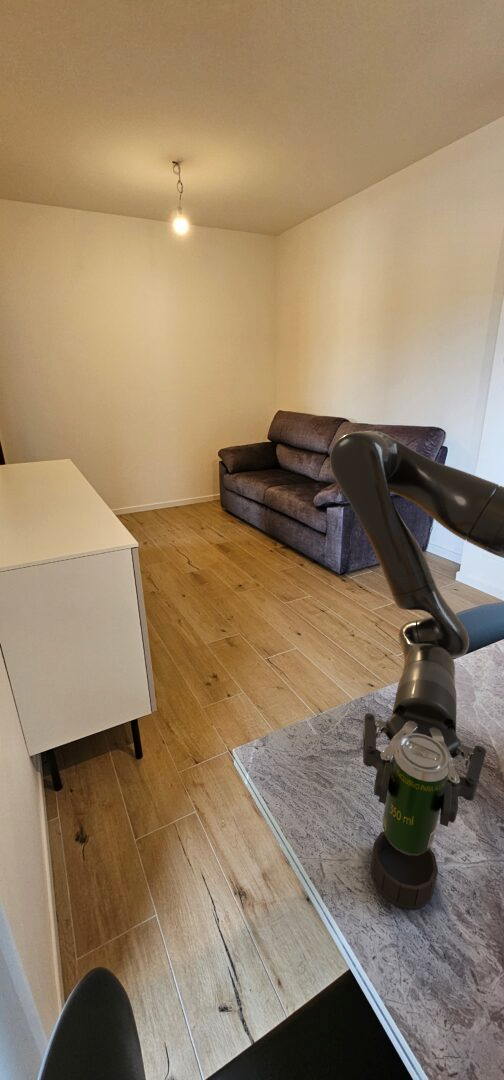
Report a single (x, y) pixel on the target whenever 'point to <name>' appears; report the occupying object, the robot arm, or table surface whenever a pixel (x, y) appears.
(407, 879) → the coaster dock
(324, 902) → the table surface
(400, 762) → the beer can
